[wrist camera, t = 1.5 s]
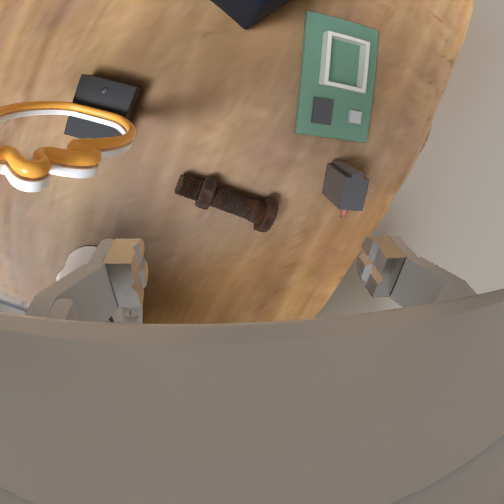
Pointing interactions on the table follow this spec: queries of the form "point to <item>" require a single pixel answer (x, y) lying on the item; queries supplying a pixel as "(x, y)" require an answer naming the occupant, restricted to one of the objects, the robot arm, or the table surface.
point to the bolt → (228, 201)
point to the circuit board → (336, 78)
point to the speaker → (249, 10)
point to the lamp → (75, 133)
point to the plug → (345, 186)
